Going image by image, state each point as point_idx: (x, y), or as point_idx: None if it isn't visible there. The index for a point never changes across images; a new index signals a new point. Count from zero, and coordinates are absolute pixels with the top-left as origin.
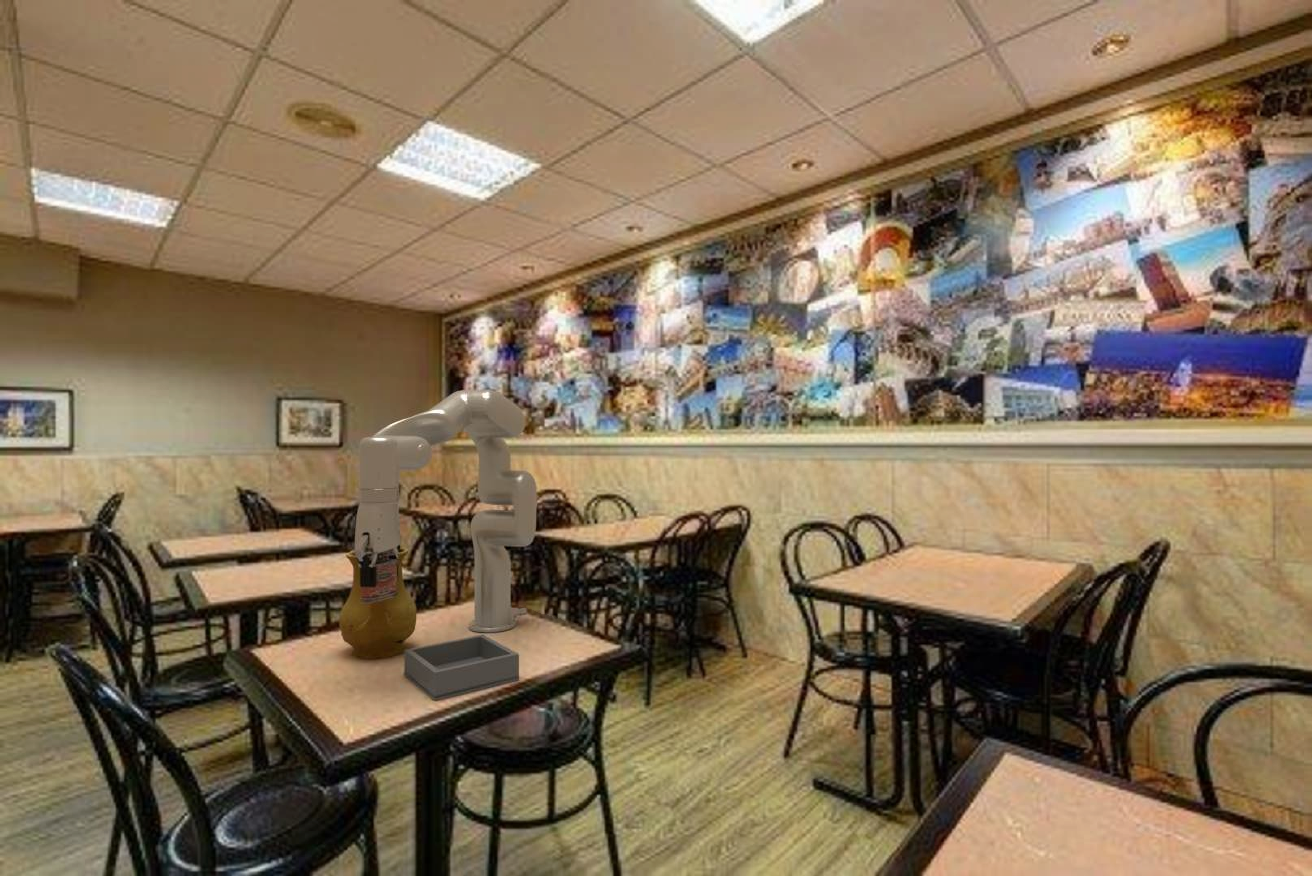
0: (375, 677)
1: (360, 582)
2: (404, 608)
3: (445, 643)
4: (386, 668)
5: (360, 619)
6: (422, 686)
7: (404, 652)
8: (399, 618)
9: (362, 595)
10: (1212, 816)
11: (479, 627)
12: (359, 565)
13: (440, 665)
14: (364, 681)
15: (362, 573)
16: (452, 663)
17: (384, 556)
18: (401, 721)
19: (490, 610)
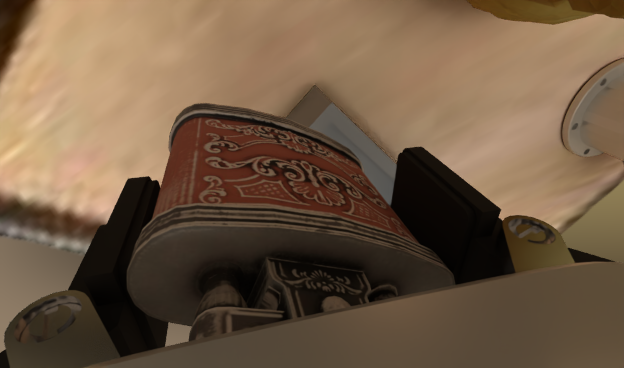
0: (294, 20)
1: (122, 192)
2: (547, 12)
3: (383, 169)
4: (356, 11)
5: None
6: None
7: (329, 100)
8: (502, 7)
9: (175, 138)
10: None
11: (585, 102)
12: (18, 327)
13: (354, 146)
14: (264, 6)
15: (78, 275)
16: (366, 162)
17: (505, 232)
18: (96, 212)
19: (616, 137)
